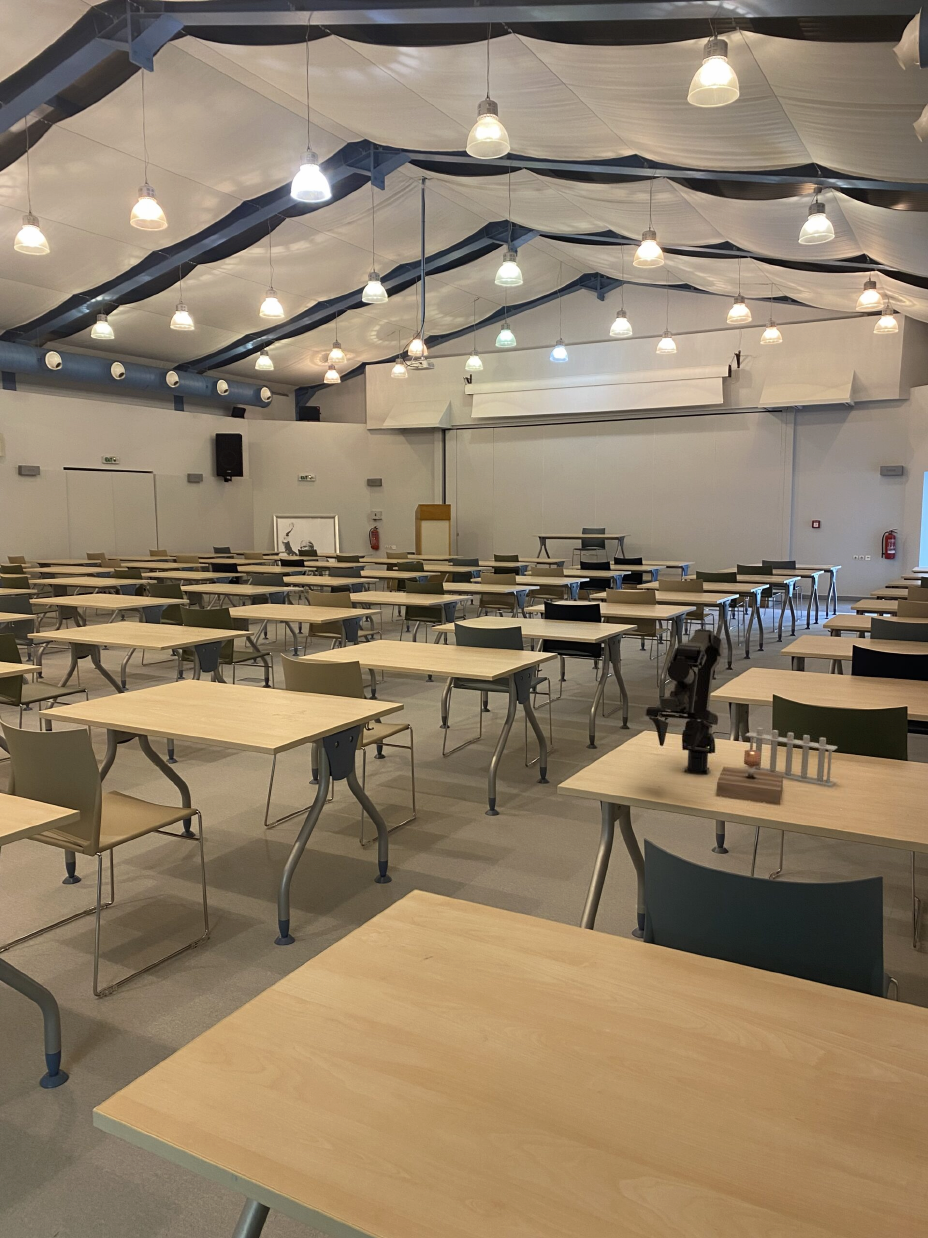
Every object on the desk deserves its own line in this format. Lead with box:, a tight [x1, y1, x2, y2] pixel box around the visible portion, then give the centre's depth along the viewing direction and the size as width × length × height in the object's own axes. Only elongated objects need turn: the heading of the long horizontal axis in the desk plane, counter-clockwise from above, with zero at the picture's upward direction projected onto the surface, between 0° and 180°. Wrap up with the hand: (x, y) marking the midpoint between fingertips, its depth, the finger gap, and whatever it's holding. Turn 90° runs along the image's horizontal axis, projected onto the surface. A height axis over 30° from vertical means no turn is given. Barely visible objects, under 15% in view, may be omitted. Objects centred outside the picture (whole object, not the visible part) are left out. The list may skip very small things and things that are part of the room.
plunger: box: [743, 749, 760, 779], centre depth 227 cm, size 4×4×8 cm
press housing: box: [716, 766, 784, 806], centre depth 227 cm, size 16×16×4 cm
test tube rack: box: [742, 727, 838, 788], centre depth 242 cm, size 25×4×13 cm, turn 53°
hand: (676, 747), depth 220 cm, fingers open, 9 cm apart
